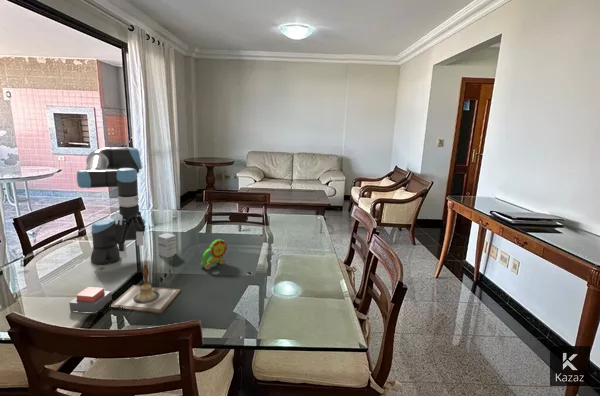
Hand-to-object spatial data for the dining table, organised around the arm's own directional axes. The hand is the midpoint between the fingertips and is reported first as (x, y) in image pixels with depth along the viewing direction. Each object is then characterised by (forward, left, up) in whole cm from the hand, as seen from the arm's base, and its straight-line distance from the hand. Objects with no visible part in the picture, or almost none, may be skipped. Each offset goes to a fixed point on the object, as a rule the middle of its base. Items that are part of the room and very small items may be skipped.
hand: (132, 251), depth 142 cm
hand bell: (+4, +2, -24) cm, 24 cm away
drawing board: (+4, +2, -24) cm, 25 cm away
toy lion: (+23, +42, -25) cm, 54 cm away
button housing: (-16, -7, -24) cm, 30 cm away
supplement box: (-9, +50, -25) cm, 56 cm away
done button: (-16, -7, -20) cm, 27 cm away
